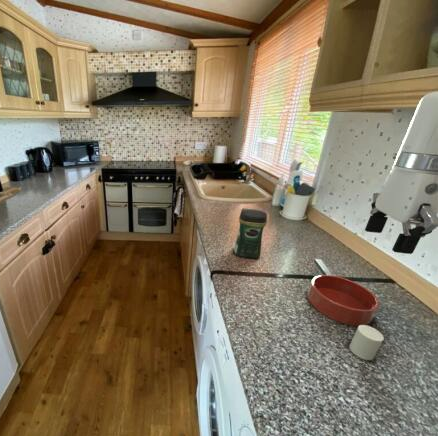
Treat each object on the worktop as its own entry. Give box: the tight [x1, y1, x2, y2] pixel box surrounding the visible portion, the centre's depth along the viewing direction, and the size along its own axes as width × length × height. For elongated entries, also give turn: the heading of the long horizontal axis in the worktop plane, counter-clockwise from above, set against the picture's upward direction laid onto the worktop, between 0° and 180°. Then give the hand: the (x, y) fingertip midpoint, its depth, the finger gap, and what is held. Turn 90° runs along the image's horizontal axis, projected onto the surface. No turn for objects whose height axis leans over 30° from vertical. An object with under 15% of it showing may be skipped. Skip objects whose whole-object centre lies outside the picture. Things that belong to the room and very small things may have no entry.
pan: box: [307, 274, 381, 327], centre depth 69 cm, size 15×15×5 cm
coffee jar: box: [233, 207, 268, 259], centre depth 93 cm, size 10×8×19 cm
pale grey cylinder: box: [349, 325, 385, 361], centre depth 55 cm, size 4×4×6 cm
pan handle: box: [313, 258, 334, 276], centre depth 80 cm, size 2×10×1 cm, turn 167°
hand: (386, 241), depth 53 cm, fingers open, 9 cm apart
